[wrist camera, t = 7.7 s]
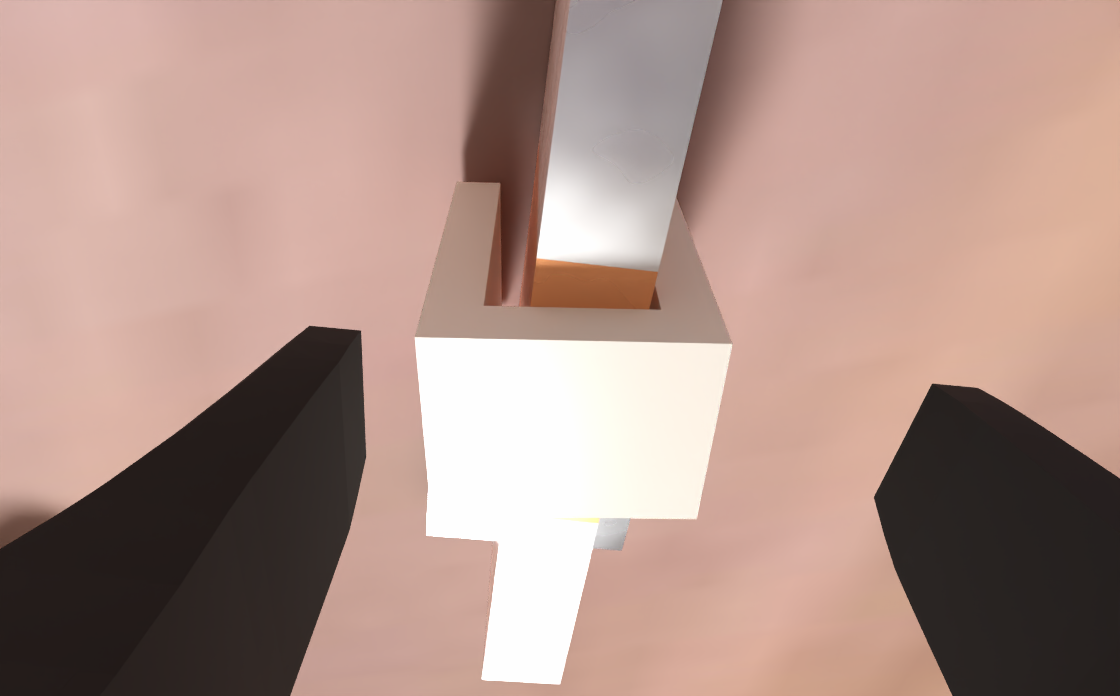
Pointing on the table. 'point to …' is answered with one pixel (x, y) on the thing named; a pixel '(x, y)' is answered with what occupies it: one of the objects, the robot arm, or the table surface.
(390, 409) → the table surface
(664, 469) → the clip
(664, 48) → the grey and orange bar
